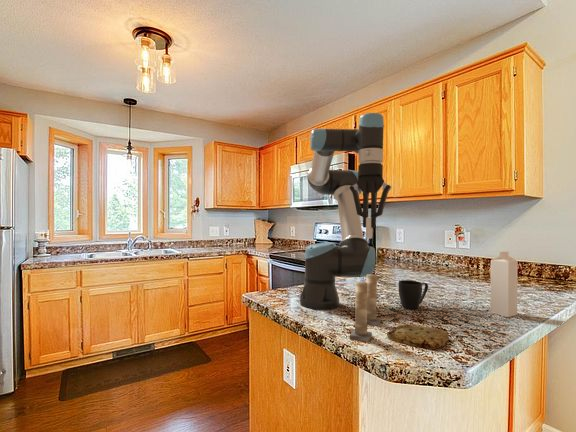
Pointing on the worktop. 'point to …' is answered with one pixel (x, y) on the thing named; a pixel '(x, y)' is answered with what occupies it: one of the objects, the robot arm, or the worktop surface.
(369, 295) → the post
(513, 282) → the milk
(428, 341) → the pastry
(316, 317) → the worktop surface
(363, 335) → the post
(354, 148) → the robot arm
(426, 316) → the worktop surface
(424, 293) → the mug
